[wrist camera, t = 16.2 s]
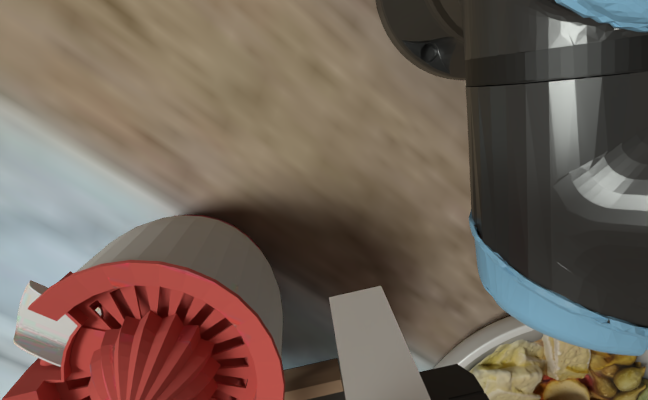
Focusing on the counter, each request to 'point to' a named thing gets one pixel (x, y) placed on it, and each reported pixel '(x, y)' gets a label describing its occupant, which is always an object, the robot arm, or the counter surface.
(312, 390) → the board
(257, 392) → the citrus juicer
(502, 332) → the bowl
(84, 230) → the counter surface
